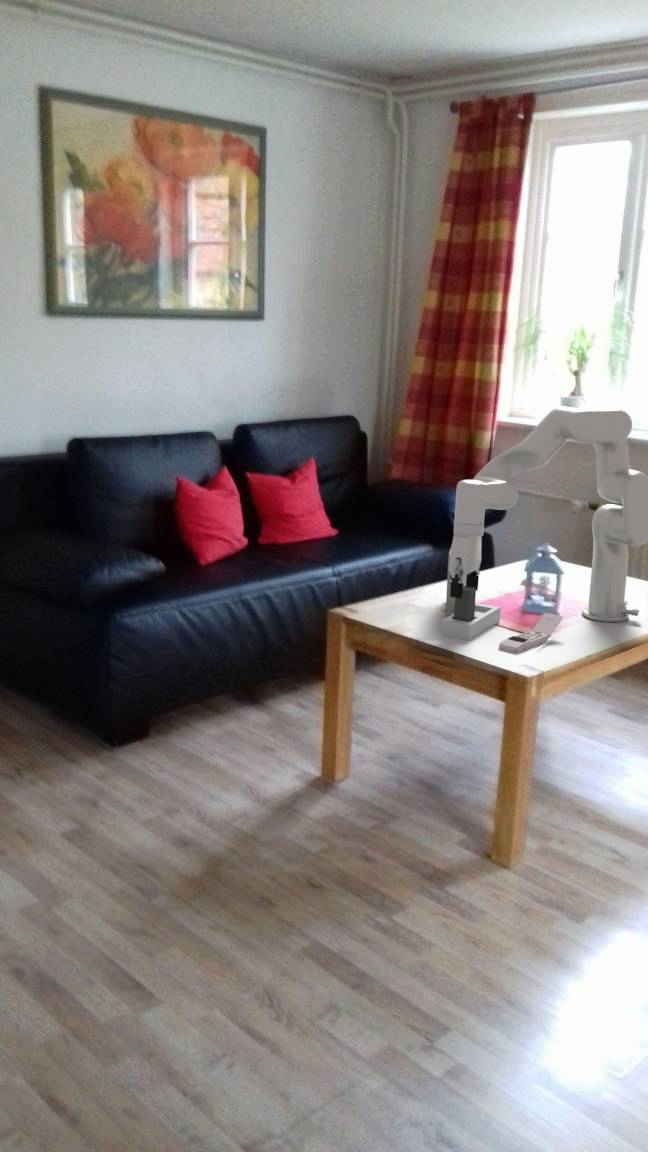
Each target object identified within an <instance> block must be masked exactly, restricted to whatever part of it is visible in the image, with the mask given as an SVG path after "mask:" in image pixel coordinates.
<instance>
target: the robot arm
mask: <svg viewBox="0 0 648 1152" xmlns="http://www.w3.org/2000/svg"><path fill="white" fill-rule="evenodd" d="M632 428H633V421H632V418H631V416H630V415H629V413H627V412H626V411H624V410H622V409H618V408H610V407H604V406H599V405H598V406H597V405H584V406H582V407H580V408H577V407H576V408H575V407H569V406H558V407H554V408H553V409H552V410H551V411H550V412H548V414H547V415H546V416H545V417H544V418H543V419H542V420H541V421H540V422H539V423H538V424H537V425H536V426H535V427H534V429H532V430H531V431H530V433H528V435H527V436H526V437H525V438H524V439H523V440H522V441H521V442H520V443H518V444H516V445H515V446H512V447H511V448H509V449H507V450H505V451H504V452H502V453H500V454H498V455H497V456H495V457H494V458H492V459H490V460H489V462H487V463H486V464H485V465H484V466H483V467H482V468H481V469H480V470H479V472H477V474H476V475H475V476H474V477H473V479H462V480H460V481H458V482H457V484H456V488H455V489H456V492H455V506H454V509H455V510H454V518H453V519H454V520H453V538H452V543H451V546H450V549H451V554H450V563H449V571H450V578H451V579H450V582H451V588H450V597H454V598H459V599H461V598H462V595H463V583H462V581H463V578H464V575H467V577H466V586H468V587H474V588H476V592H477V591H478V589H479V577H480V576H479V575H480V573H481V572H480V568H481V567H482V566H481V563H482V537H483V536H484V528H485V513H486V510H498V511H503V510H504V511H505V510H508V509H510V508H512V507H513V506H514V505H515V504H516V503H517V501H518V499H519V491H518V489H517V487H516V486H515V485H514V484H513V483H512V482H510V481H507V480H509V479H510V478H512V477H514V476H517V475H518V474H520V473H525V472H530V471H533V470H537V469H539V468H540V469H541V468H543V467H545V466H546V465H547V464H548V463H549V461H550V460H551V459H552V458H553V457H554V456H555V455H556V454H557V453H558V452H559V451H560V450H561V449H562V448H563V447H564V446H565V444H567V442H572V443H573V442H574V443H576V444H577V443H578V444H589V445H591V444H592V446H593V447H594V451H595V455H596V456H595V460H596V488H597V489H596V490H597V493H598V495H599V497H600V498H602V499H604V500H606V501H609V502H611V504H608V503H607V504H604V505H601V506H600V507H598V508H597V509H596V510H595V512H594V513H593V516H592V520H591V530H592V537H593V538H592V539H593V541H592V542H593V550H592V561H591V563H592V564H591V571H590V573H591V575H590V585H589V594H588V595H589V598H588V606H587V607H583V609H582V610H581V611H582V613H581V614H582V615H583V617H585V618H588V619H590V620H594V621H599V622H605V623H606V622H607V623H618V622H624V621H627V620H628V619H629V616H635V617H638V616H639V613H640V609H639V608H638V607H636V606H629V605H628V600H625V597H626V596H625V595H626V587H627V586H626V585H627V577H628V576H627V575H628V574H627V573H628V565H629V549H628V546H632V547H640V546H642V545H644V544H646V543H647V542H648V474H646V473H645V472H643V471H640V470H635V469H631V465H630V456H629V455H630V452H629V445H628V441H627V438H628V437H629V435H630V434H631V432H632ZM613 503H615V504H613ZM616 503H617V504H616ZM457 570H459V571H457ZM458 575H460V578H459V576H458Z"/></svg>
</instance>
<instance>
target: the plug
mask: <svg viewBox="0 0 648 1152" xmlns="http://www.w3.org/2000/svg"><path fill="white" fill-rule="evenodd" d="M476 592H477V591H476V588H474V587H468V586H463V595H462V598H461V599H459V598H454V603H455V607H454V619H455V620H460V621H466V622H471V621H472V620H474V615H475V603H476V595H477V593H476Z"/></svg>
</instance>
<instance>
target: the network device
mask: <svg viewBox="0 0 648 1152" xmlns="http://www.w3.org/2000/svg"><path fill="white" fill-rule="evenodd" d="M450 554H451V548H450V549H449V552H448V559H447V561H448V562H447V581H446V582H447V583H446V597H445V598H446V599H445V601H444V602H442V603H441V606H443V607H445V618H446V617H448V616H450V615H452V614H453V613H454V607H455V603H454V597H450V588H451V582H450V579H451V578H450V571H449V563H450ZM457 571H459V570H457ZM458 576H459V578H460V575H458ZM466 577H467V575H464V578H463V581H462V583H463V586H466Z"/></svg>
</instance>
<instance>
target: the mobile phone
mask: <svg viewBox="0 0 648 1152" xmlns="http://www.w3.org/2000/svg"><path fill="white" fill-rule="evenodd" d="M563 618H564V616H561V615H558V614H553V613H546V612H543V613H542V614H541V615H540V616H539V618H538V620H537V621H536V623H535V624H534V625H533V627H532V629H530V630H528V631H526V632H523V633H520V634H517V635H511V636H509V637H508V638H505V639H504V640H502V641H500V642H499V644H498V649H499V650H502V651H506V652H510V653H513V654H514V653H515V654H519V653H521V652H523V651H527V650H528V649H530V648H533V647H534V648H533V650H534V649H536V648H539V647H541V646H543V645H545V644H547V642H548V640H549V637H550V636H551V634H552V633H553V632H554V630H555V629H556V628H557V627H558V626H559V624H560V623H561V621H562V620H563Z"/></svg>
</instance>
